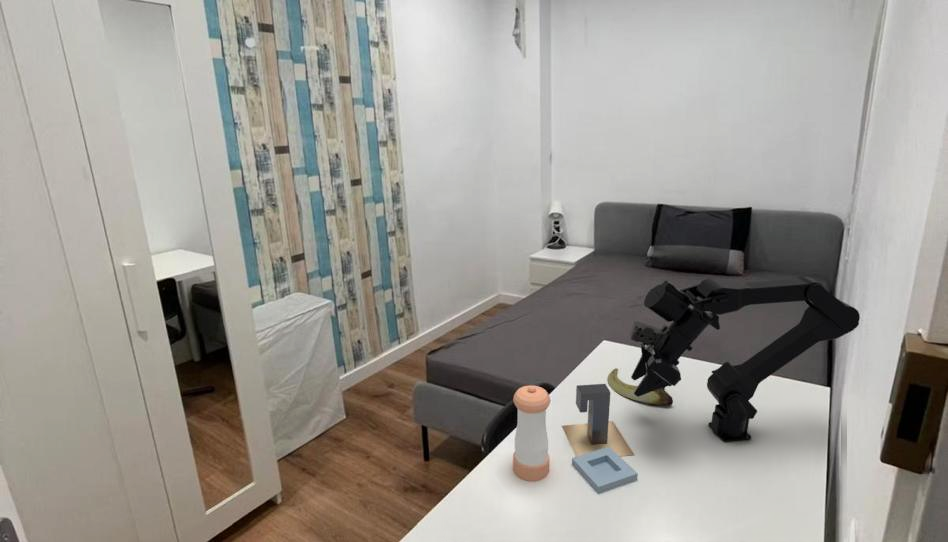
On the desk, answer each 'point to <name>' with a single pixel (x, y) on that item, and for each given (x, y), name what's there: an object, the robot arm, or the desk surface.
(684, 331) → the robot arm
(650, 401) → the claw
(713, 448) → the desk surface
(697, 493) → the desk surface
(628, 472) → the square socket block
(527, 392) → the salt shaker
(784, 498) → the desk surface
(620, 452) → the tan metal pad
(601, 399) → the grey hook block
